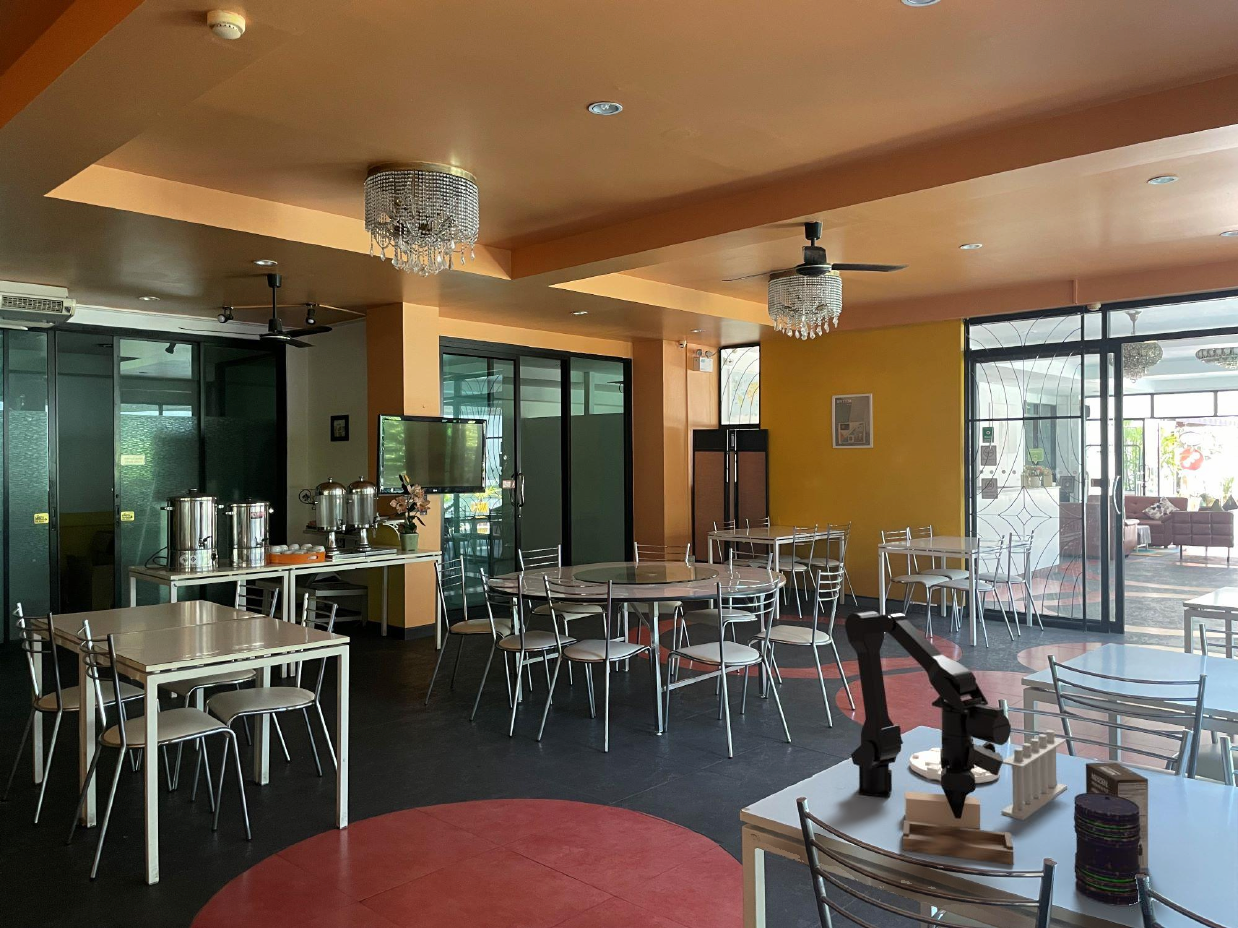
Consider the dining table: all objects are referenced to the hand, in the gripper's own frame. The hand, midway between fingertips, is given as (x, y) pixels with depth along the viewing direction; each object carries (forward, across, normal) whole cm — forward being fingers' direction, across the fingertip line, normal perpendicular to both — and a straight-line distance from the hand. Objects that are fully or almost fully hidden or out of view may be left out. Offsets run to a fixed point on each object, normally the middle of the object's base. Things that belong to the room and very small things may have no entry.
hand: (957, 809), depth 179 cm
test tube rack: (+3, +18, -16) cm, 24 cm away
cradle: (+3, -13, 0) cm, 13 cm away
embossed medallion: (+3, +33, 0) cm, 33 cm away
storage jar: (+3, -23, -23) cm, 33 cm away
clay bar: (+3, 0, +3) cm, 4 cm away
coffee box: (+3, -8, -27) cm, 28 cm away
